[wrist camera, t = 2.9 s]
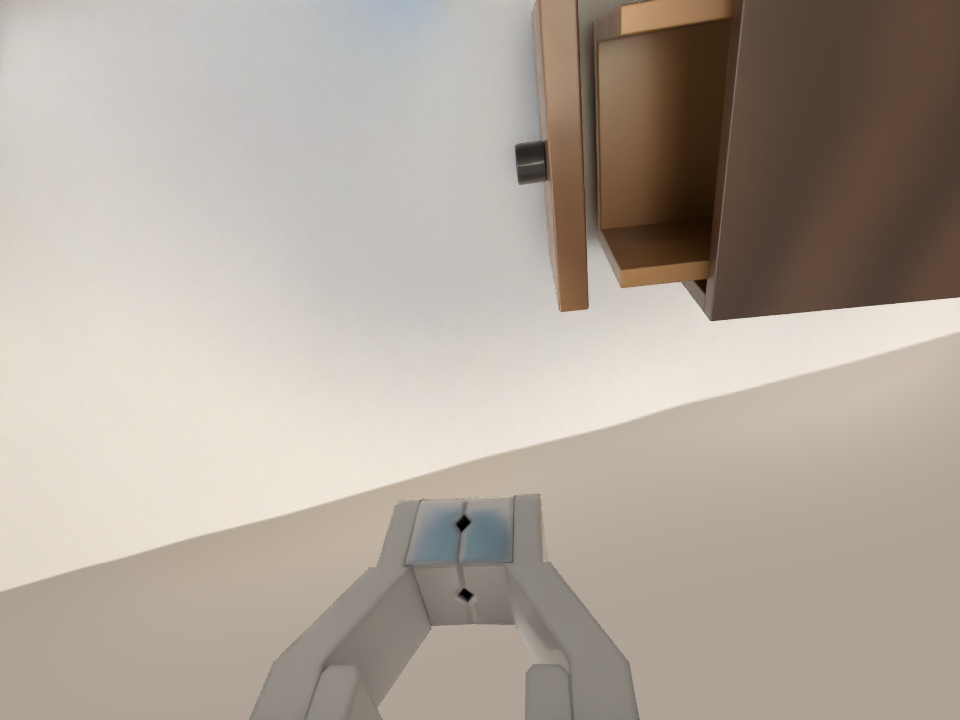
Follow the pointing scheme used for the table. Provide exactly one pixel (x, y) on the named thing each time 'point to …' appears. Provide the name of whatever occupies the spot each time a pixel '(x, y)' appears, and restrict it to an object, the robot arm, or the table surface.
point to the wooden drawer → (631, 138)
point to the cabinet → (836, 158)
